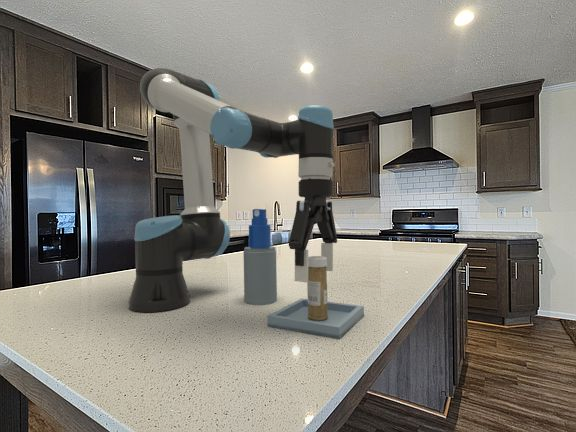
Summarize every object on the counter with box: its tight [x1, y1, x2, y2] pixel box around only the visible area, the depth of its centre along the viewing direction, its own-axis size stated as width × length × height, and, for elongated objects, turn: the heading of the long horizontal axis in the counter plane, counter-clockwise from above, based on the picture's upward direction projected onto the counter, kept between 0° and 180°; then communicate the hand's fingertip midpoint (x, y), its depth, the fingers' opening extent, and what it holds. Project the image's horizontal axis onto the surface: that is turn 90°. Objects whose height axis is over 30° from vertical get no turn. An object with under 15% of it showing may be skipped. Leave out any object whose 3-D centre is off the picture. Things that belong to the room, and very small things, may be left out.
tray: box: [266, 297, 365, 340], centre depth 74 cm, size 16×16×2 cm
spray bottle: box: [243, 208, 278, 306], centre depth 92 cm, size 9×9×25 cm
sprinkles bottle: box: [306, 255, 329, 321], centre depth 74 cm, size 5×5×14 cm
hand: (315, 275), depth 75 cm, fingers open, 13 cm apart
